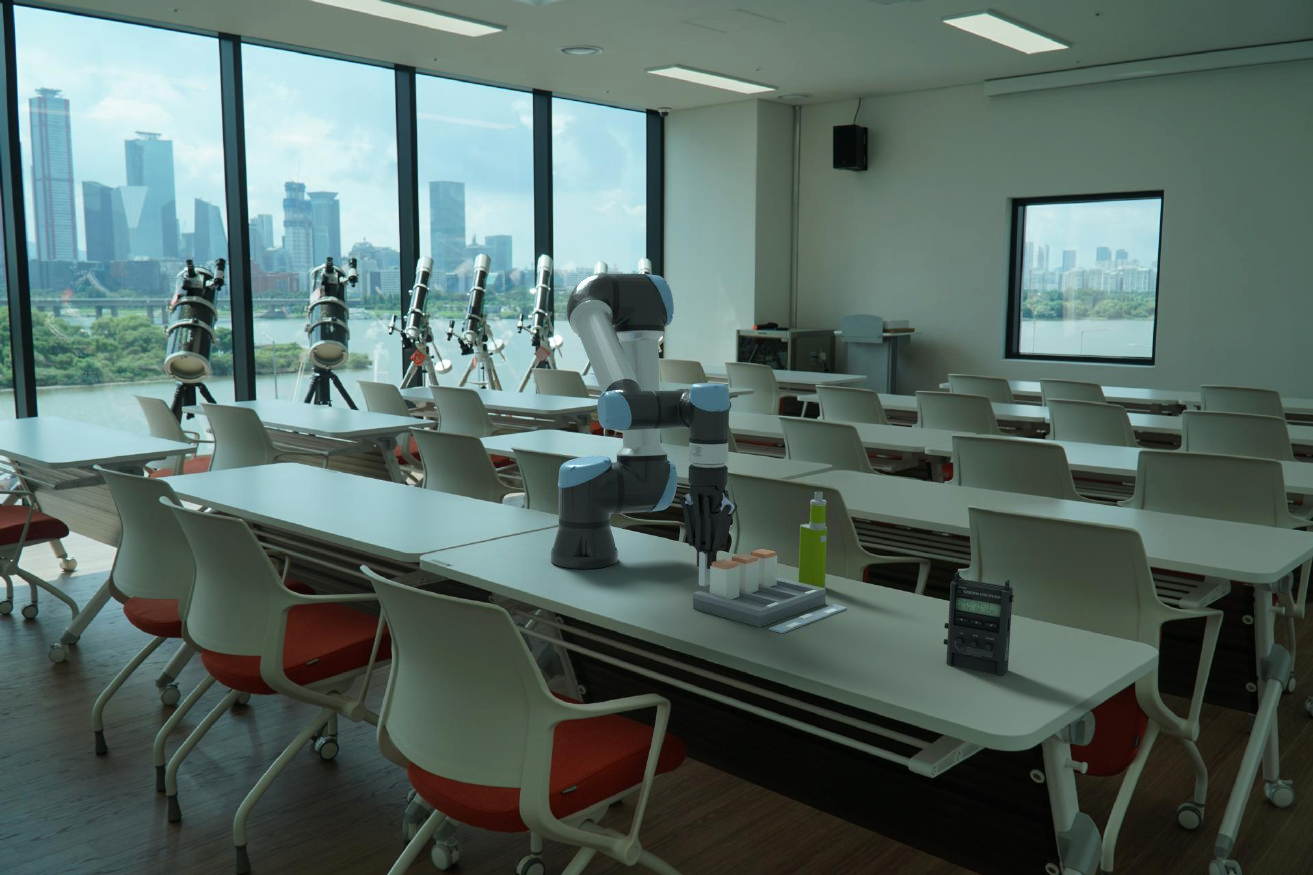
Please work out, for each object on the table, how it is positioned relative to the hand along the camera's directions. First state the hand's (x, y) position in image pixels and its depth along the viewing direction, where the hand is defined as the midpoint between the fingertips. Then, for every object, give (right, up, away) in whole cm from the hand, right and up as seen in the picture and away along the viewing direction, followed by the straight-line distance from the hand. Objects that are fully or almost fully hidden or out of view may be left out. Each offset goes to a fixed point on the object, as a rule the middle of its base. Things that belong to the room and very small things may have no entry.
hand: (706, 584), depth 194 cm
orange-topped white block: (+7, -2, +2) cm, 8 cm away
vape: (+23, -3, +14) cm, 27 cm away
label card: (+19, -5, -9) cm, 21 cm away
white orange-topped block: (+12, -1, +6) cm, 13 cm away
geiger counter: (+42, -9, -33) cm, 54 cm away
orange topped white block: (+3, -2, -3) cm, 5 cm away
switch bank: (+10, -4, -1) cm, 11 cm away
